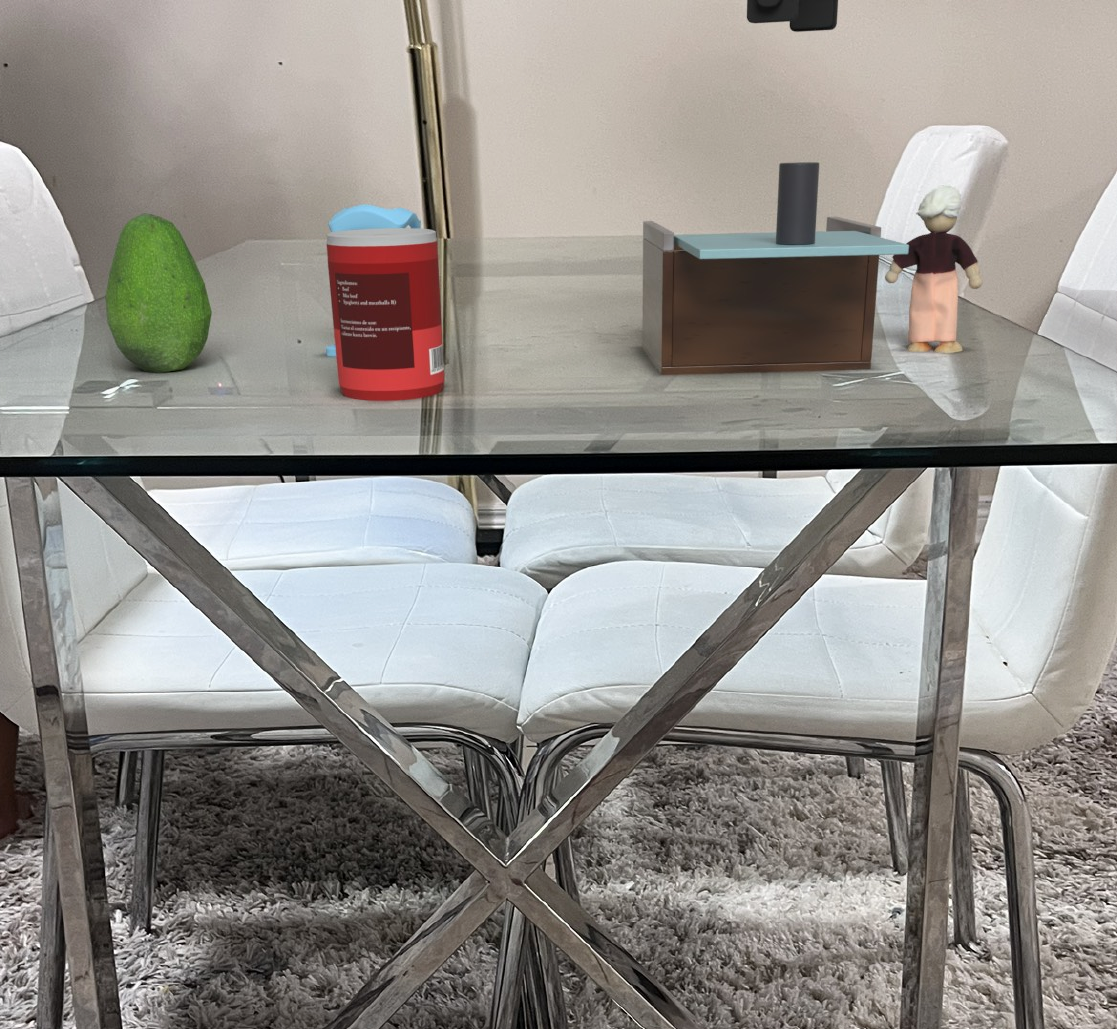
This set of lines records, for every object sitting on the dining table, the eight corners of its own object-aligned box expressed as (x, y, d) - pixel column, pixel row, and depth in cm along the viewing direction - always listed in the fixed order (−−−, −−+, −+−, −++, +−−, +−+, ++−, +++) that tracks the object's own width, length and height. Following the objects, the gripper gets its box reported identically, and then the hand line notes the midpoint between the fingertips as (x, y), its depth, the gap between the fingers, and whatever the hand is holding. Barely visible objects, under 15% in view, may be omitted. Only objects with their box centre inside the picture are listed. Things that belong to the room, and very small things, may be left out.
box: (828, 345, 114) (836, 216, 110) (870, 372, 102) (881, 227, 97) (642, 350, 114) (643, 221, 110) (661, 377, 101) (663, 232, 97)
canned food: (423, 381, 102) (414, 226, 97) (462, 397, 95) (454, 232, 90) (325, 390, 99) (311, 231, 94) (358, 408, 92) (344, 237, 87)
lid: (855, 239, 100) (861, 158, 98) (908, 254, 88) (916, 161, 85) (672, 243, 100) (674, 162, 98) (699, 259, 87) (701, 166, 85)
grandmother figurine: (975, 349, 111) (993, 184, 105) (974, 356, 107) (992, 186, 102) (881, 347, 113) (893, 184, 107) (876, 354, 109) (889, 187, 104)
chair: (443, 346, 119) (435, 200, 114) (411, 360, 111) (401, 205, 106) (362, 344, 120) (351, 200, 115) (325, 358, 113) (311, 206, 108)
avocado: (185, 382, 103) (163, 215, 98) (97, 379, 105) (71, 216, 100) (235, 366, 110) (217, 209, 105) (151, 363, 112) (129, 210, 107)
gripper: (832, -342, 73) (814, 15, 80) (899, -267, 87) (879, 31, 94) (701, -321, 76) (695, 22, 83) (786, -251, 90) (775, 36, 97)
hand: (793, 26), depth 88 cm, fingers open, 9 cm apart
